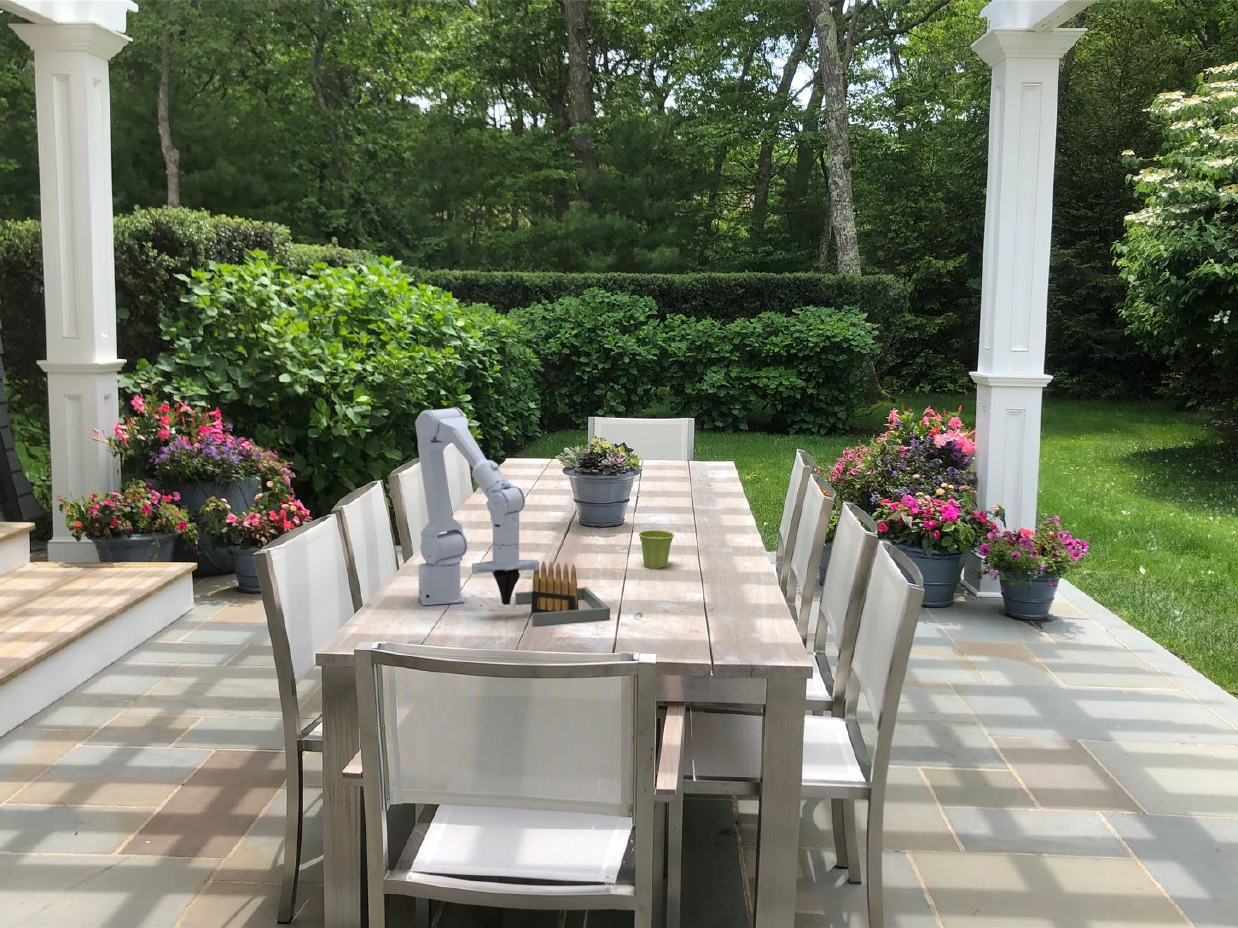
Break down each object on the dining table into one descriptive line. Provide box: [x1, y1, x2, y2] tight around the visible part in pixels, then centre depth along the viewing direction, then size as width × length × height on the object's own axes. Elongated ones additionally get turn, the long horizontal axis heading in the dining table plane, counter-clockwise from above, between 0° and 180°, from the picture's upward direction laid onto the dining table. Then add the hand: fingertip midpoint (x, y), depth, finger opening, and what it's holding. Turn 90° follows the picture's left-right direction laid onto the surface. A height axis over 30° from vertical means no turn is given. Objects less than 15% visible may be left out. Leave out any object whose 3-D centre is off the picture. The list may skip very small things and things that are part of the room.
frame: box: [514, 586, 611, 627], centre depth 231 cm, size 17×18×2 cm
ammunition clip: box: [530, 559, 580, 614], centre depth 227 cm, size 11×2×12 cm, turn 71°
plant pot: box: [638, 529, 675, 570], centre depth 272 cm, size 9×9×9 cm
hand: (505, 603), depth 227 cm, fingers closed
